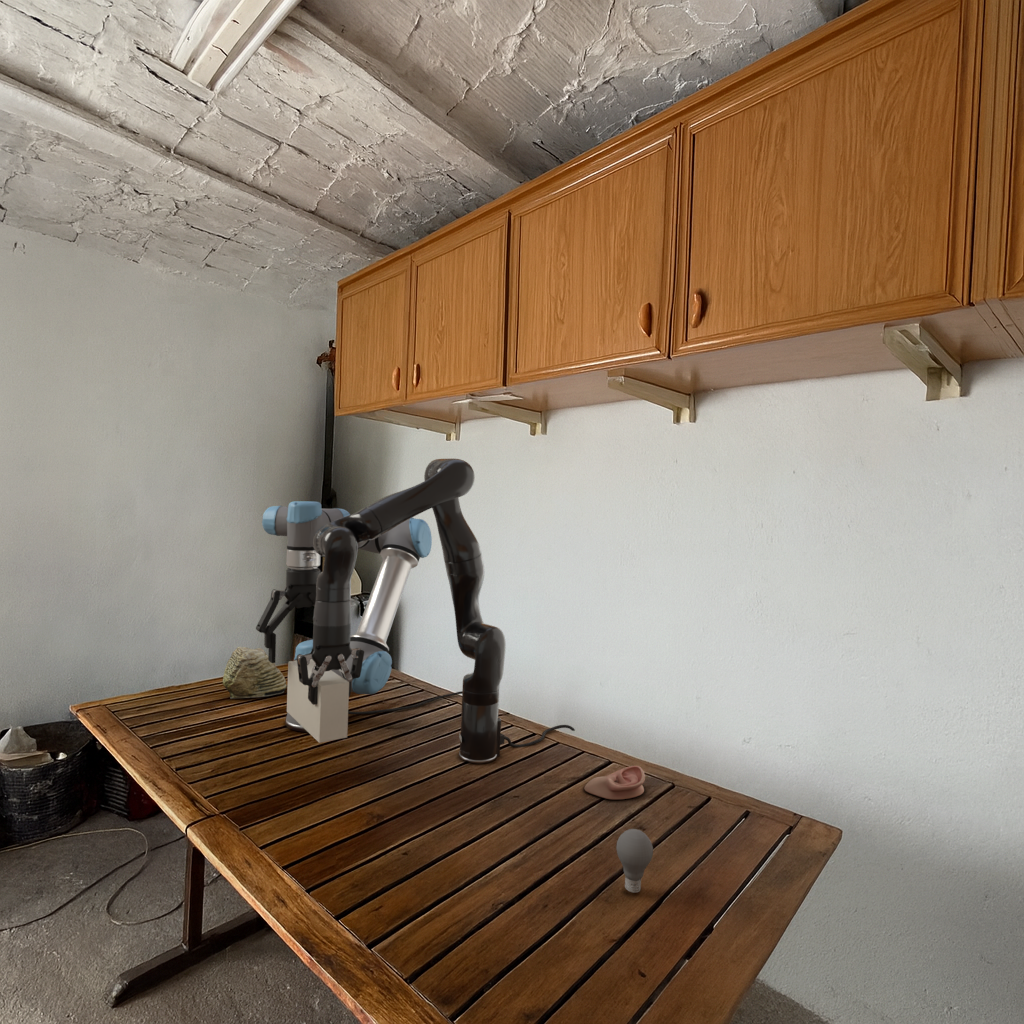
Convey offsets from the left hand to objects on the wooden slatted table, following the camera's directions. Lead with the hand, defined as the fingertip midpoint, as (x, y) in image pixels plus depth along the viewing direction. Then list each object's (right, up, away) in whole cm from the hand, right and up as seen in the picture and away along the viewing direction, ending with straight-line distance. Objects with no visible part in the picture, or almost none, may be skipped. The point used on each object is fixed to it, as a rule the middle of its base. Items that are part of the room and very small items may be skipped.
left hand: (301, 657), depth 148 cm
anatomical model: (+73, -29, -5) cm, 78 cm away
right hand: (+11, -5, -16) cm, 20 cm away
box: (+6, -12, -10) cm, 17 cm away
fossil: (-31, -23, +50) cm, 63 cm away
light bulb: (+70, -29, -43) cm, 87 cm away
